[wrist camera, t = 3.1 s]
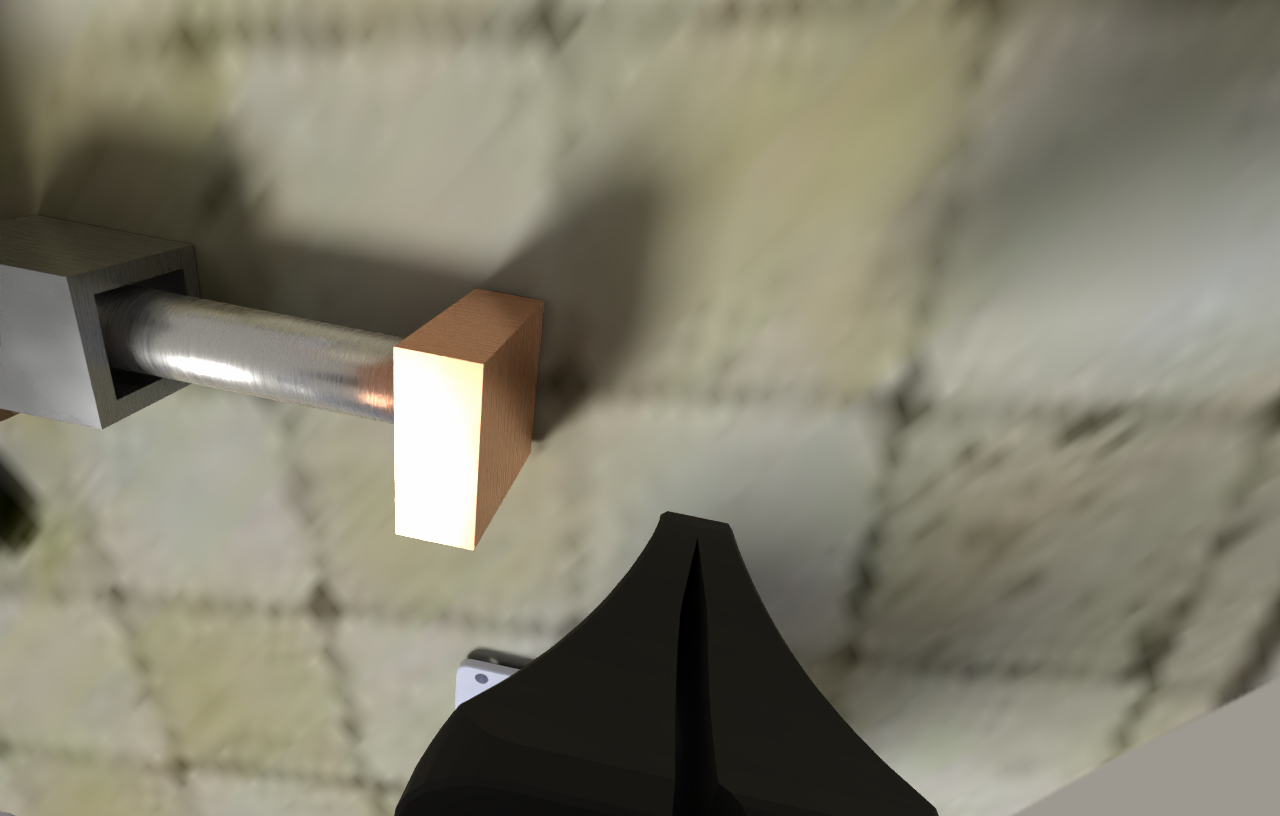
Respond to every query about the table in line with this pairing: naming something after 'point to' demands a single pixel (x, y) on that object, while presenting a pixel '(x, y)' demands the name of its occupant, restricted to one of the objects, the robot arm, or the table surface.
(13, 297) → the grey channel block
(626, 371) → the table surface
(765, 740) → the robot arm
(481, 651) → the table surface
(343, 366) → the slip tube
